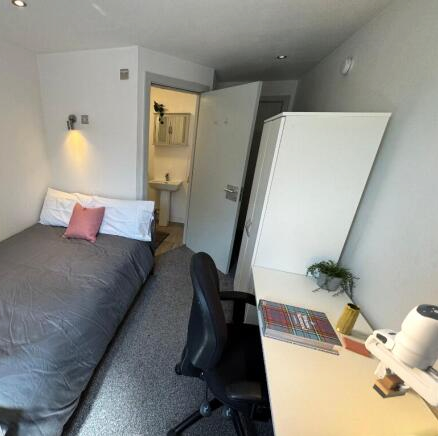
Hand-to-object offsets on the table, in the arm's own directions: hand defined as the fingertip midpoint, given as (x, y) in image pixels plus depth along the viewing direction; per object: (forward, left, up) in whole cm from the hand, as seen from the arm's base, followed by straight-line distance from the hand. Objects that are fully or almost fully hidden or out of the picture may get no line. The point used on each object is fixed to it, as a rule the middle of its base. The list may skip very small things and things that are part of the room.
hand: (393, 383), depth 74 cm
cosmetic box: (-6, -17, -13) cm, 22 cm away
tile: (+1, -27, -13) cm, 30 cm away
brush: (0, 0, -4) cm, 4 cm away
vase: (+4, -36, -13) cm, 39 cm away
